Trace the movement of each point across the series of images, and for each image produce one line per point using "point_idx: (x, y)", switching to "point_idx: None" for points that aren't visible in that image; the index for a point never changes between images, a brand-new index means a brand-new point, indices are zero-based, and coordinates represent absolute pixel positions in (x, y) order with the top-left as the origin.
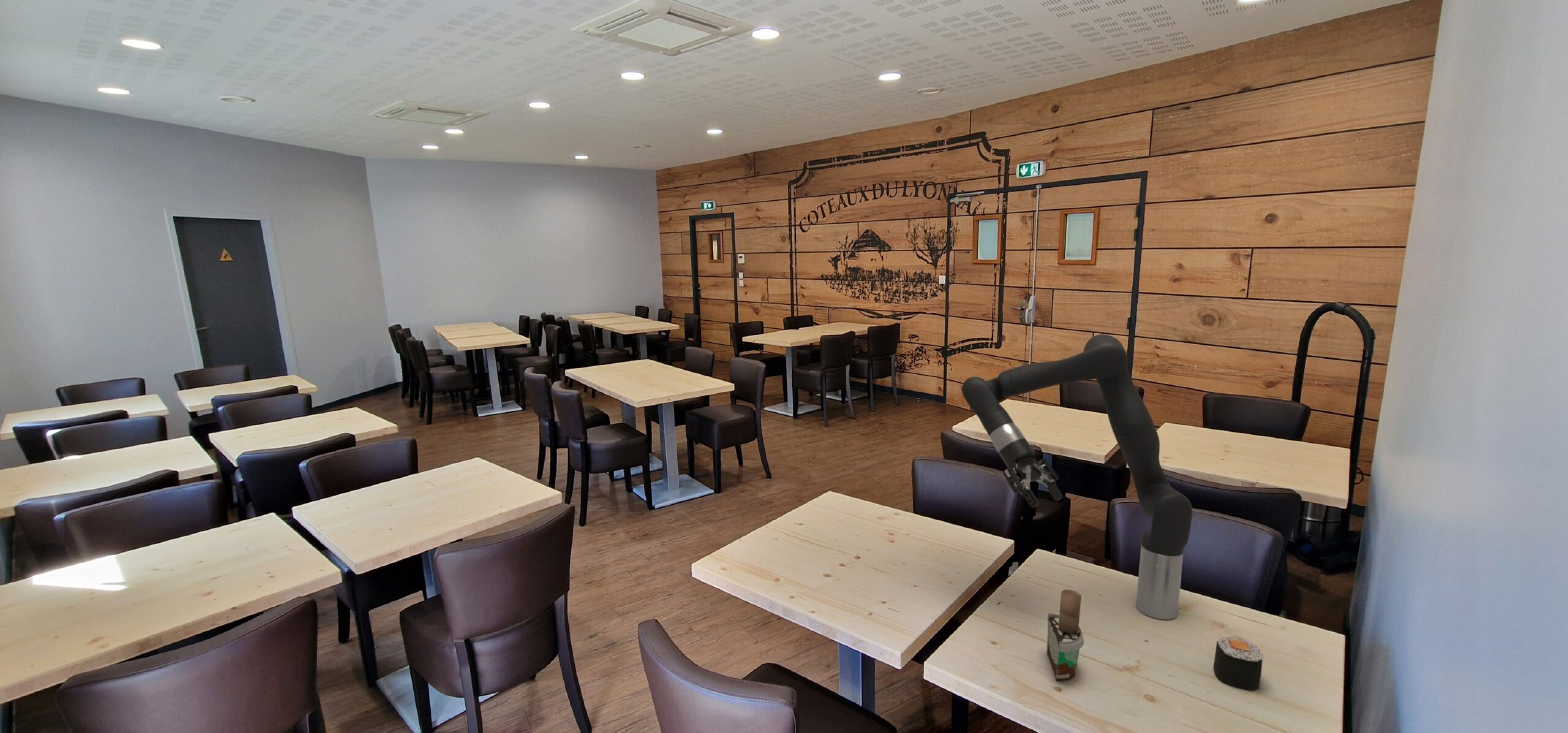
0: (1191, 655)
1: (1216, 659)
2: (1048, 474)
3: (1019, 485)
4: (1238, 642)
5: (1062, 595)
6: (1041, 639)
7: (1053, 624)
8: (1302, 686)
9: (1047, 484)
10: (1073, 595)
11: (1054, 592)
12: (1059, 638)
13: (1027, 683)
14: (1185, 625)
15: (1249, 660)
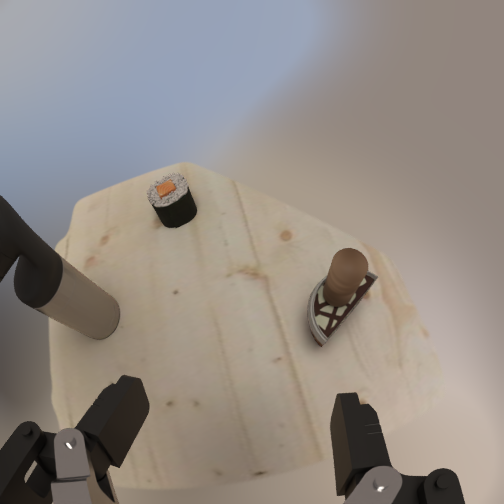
0: (168, 249)
1: (181, 212)
2: (28, 484)
3: (453, 489)
4: (161, 189)
5: (366, 272)
6: (294, 375)
7: (341, 318)
8: (151, 184)
9: (102, 470)
10: (349, 260)
11: (155, 434)
12: (363, 289)
13: (389, 318)
14: (111, 281)
15: (183, 177)
